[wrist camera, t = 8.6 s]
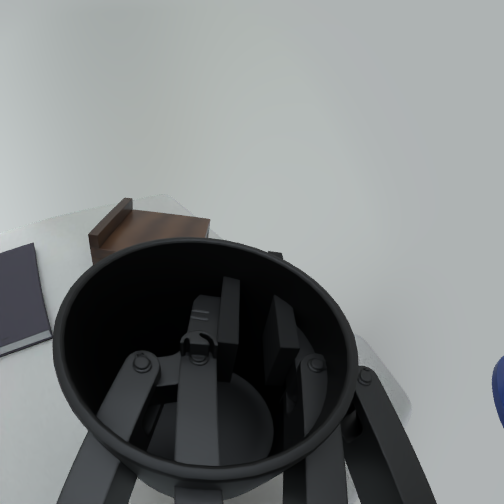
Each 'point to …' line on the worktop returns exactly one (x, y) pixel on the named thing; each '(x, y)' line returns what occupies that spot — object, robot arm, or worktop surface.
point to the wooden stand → (140, 229)
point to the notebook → (21, 301)
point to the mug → (168, 343)
